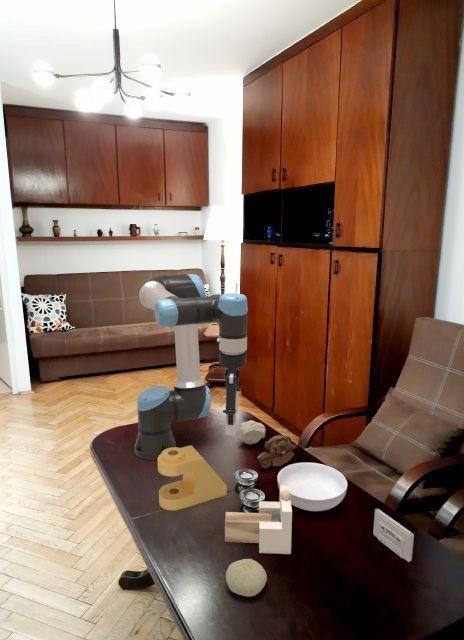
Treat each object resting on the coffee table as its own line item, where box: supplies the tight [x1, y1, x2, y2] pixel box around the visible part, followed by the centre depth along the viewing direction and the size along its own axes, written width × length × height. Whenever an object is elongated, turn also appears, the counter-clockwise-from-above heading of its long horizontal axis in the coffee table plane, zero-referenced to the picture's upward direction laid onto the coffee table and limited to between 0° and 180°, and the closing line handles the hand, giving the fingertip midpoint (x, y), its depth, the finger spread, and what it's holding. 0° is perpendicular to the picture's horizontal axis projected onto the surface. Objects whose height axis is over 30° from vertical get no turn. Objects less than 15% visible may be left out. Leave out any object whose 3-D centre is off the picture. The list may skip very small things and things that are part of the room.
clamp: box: [157, 444, 228, 511], centre depth 136 cm, size 20×9×16 cm, turn 118°
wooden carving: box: [256, 435, 298, 469], centre depth 155 cm, size 16×5×10 cm, turn 128°
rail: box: [224, 511, 280, 544], centre depth 119 cm, size 4×14×6 cm, turn 87°
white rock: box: [237, 419, 267, 445], centre depth 169 cm, size 12×8×10 cm
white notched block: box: [258, 486, 293, 555], centre depth 118 cm, size 11×8×14 cm
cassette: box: [373, 508, 415, 563], centre depth 115 cm, size 12×2×8 cm, turn 29°
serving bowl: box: [276, 462, 348, 512], centre depth 136 cm, size 21×21×7 cm
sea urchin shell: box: [225, 558, 268, 597], centre depth 103 cm, size 9×8×8 cm
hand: (232, 423), depth 126 cm, fingers open, 13 cm apart
